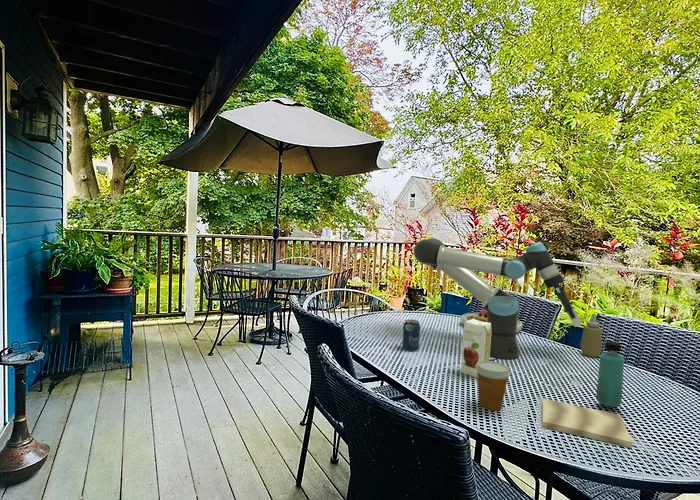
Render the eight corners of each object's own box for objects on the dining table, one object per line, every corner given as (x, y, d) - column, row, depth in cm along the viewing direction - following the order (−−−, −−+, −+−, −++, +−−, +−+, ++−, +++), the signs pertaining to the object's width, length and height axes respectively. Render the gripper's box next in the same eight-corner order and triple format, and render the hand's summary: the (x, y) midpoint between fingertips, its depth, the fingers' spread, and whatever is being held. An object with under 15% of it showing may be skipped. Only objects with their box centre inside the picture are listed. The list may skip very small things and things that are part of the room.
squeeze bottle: (598, 353, 174) (602, 313, 173) (603, 359, 166) (607, 317, 165) (577, 351, 177) (581, 310, 175) (581, 356, 169) (585, 314, 168)
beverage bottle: (624, 413, 117) (631, 347, 116) (599, 410, 119) (606, 344, 117) (614, 403, 124) (621, 340, 122) (591, 400, 125) (597, 338, 124)
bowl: (531, 338, 194) (533, 322, 194) (470, 335, 195) (471, 319, 194) (508, 322, 224) (509, 309, 224) (454, 320, 225) (455, 306, 224)
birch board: (542, 426, 107) (542, 421, 107) (542, 403, 122) (542, 398, 122) (631, 447, 99) (632, 442, 99) (620, 420, 113) (620, 414, 113)
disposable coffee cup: (468, 398, 123) (471, 360, 122) (498, 398, 124) (501, 360, 123) (481, 413, 114) (484, 372, 113) (513, 413, 114) (516, 372, 113)
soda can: (411, 353, 163) (413, 324, 162) (398, 348, 169) (400, 320, 168) (422, 349, 168) (423, 321, 167) (409, 345, 173) (411, 318, 172)
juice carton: (468, 367, 149) (472, 317, 148) (490, 374, 143) (494, 322, 142) (458, 372, 144) (461, 320, 143) (480, 380, 138) (484, 326, 137)
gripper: (560, 274, 157) (589, 324, 153) (559, 271, 179) (584, 314, 175) (541, 282, 160) (569, 331, 156) (543, 278, 183) (567, 321, 178)
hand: (577, 322), depth 166 cm, fingers open, 13 cm apart
